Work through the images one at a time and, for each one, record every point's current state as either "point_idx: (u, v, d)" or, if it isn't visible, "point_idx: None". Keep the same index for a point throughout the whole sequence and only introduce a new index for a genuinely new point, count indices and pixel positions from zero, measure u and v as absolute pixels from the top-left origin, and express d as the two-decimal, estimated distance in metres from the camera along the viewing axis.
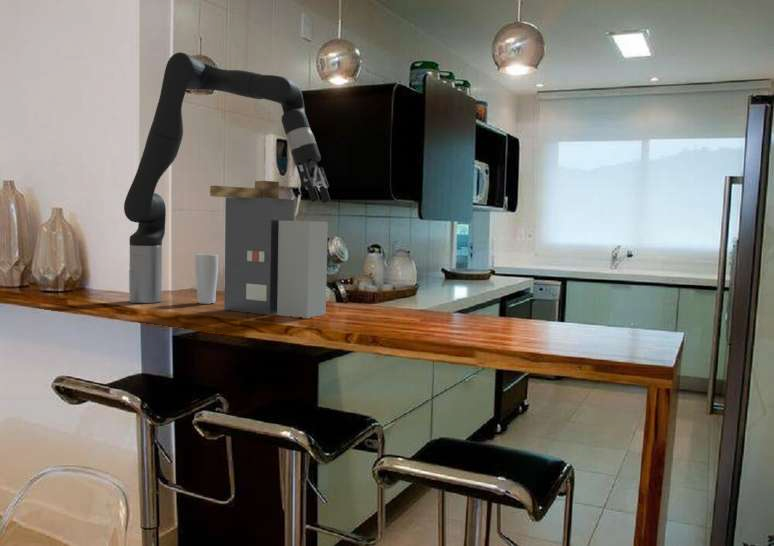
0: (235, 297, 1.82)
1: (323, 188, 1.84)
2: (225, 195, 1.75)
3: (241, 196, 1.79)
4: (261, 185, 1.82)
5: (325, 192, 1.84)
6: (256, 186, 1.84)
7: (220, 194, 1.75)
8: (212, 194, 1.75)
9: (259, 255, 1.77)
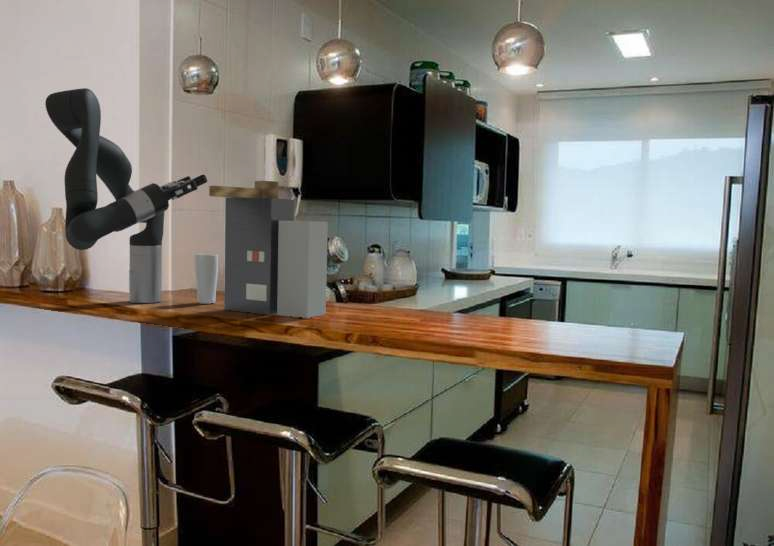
0: (235, 297, 1.82)
1: None
2: (224, 195, 1.76)
3: (240, 196, 1.79)
4: (260, 185, 1.82)
5: None
6: (256, 186, 1.84)
7: (219, 194, 1.75)
8: (211, 194, 1.75)
9: (259, 255, 1.77)
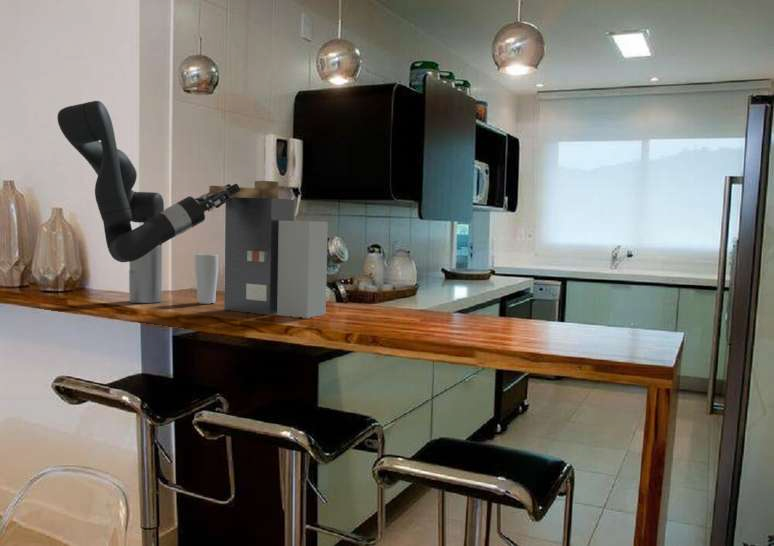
0: (235, 297, 1.82)
1: None
2: None
3: (240, 196, 1.79)
4: (260, 185, 1.82)
5: None
6: (256, 186, 1.84)
7: None
8: None
9: (259, 255, 1.77)
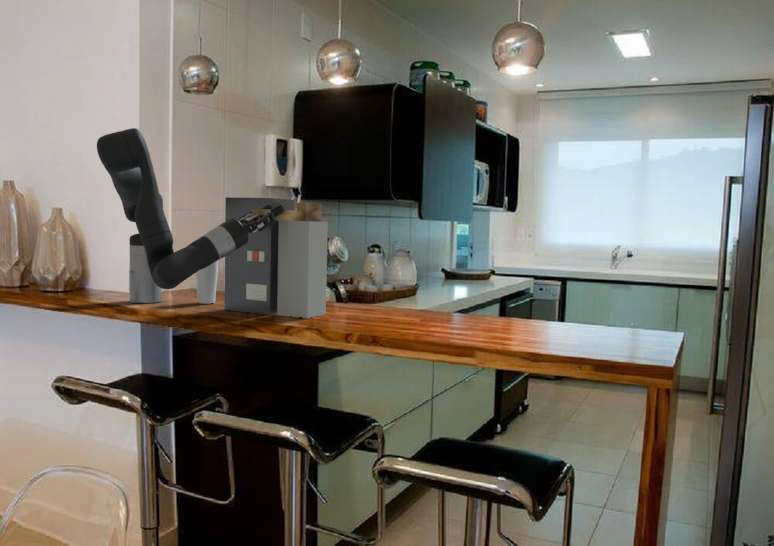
0: (235, 297, 1.82)
1: None
2: (268, 218, 1.69)
3: (284, 219, 1.72)
4: (304, 207, 1.76)
5: None
6: (298, 208, 1.78)
7: None
8: None
9: (259, 255, 1.77)
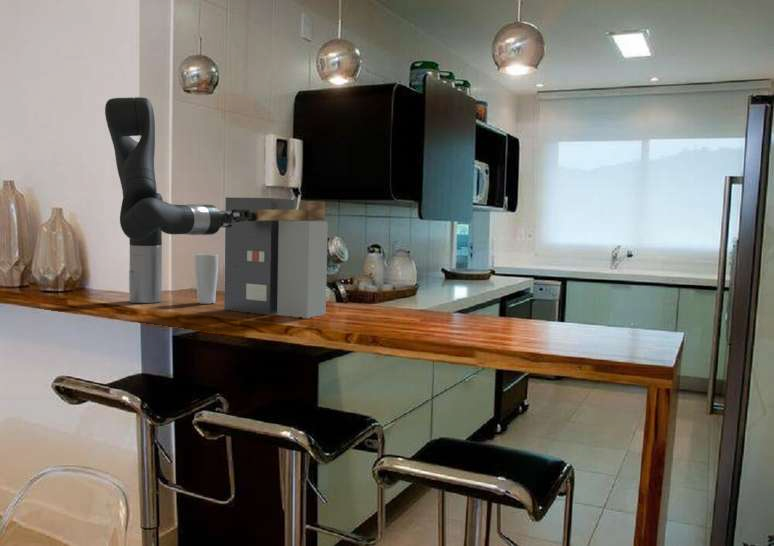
0: (235, 297, 1.82)
1: None
2: (269, 218, 1.71)
3: (286, 219, 1.73)
4: (306, 206, 1.76)
5: None
6: (301, 207, 1.79)
7: (264, 218, 1.70)
8: (256, 218, 1.70)
9: (259, 255, 1.77)
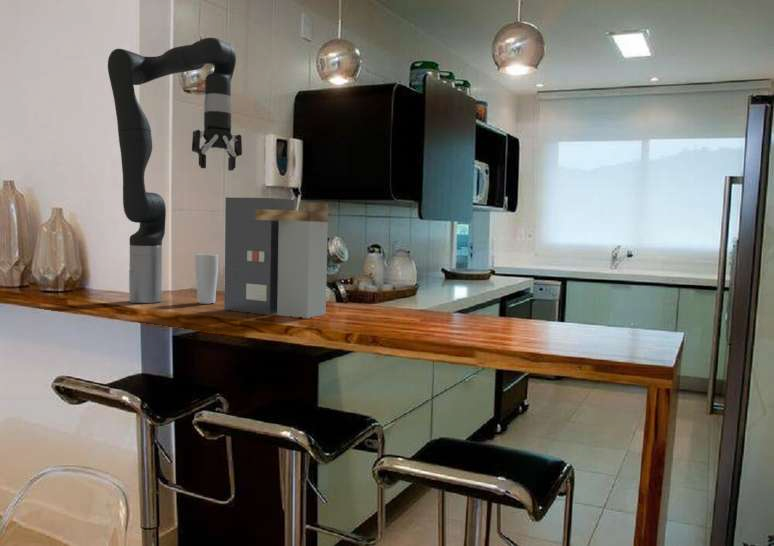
0: (235, 297, 1.82)
1: (231, 155, 1.87)
2: (269, 218, 1.72)
3: (286, 219, 1.73)
4: (309, 207, 1.75)
5: (231, 160, 1.87)
6: (306, 208, 1.78)
7: (263, 218, 1.71)
8: (256, 218, 1.72)
9: (259, 255, 1.77)
